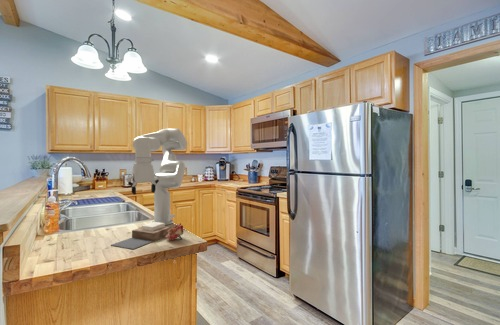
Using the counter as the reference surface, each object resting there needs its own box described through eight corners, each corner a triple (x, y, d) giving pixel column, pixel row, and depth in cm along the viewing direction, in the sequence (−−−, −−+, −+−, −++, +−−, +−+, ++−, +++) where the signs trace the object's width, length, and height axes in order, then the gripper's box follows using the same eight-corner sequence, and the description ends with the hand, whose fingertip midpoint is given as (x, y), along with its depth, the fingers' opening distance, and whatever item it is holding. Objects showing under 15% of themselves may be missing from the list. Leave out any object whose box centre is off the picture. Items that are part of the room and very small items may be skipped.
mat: (131, 238, 130) (131, 237, 130) (152, 241, 125) (152, 241, 125) (110, 245, 119) (110, 244, 119) (133, 249, 114) (133, 248, 114)
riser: (150, 231, 142) (150, 224, 142) (171, 234, 137) (171, 226, 137) (132, 238, 130) (131, 230, 130) (153, 241, 125) (153, 233, 125)
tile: (154, 225, 140) (154, 221, 140) (164, 226, 137) (164, 223, 137) (141, 229, 132) (141, 225, 132) (152, 231, 129) (152, 227, 129)
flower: (187, 232, 134) (178, 220, 134) (189, 233, 126) (179, 221, 125) (171, 245, 130) (162, 233, 130) (173, 247, 122) (162, 234, 121)
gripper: (157, 160, 143) (157, 190, 143) (123, 161, 132) (124, 194, 132) (162, 160, 137) (162, 192, 138) (127, 161, 126) (128, 196, 127)
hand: (143, 193), depth 135 cm, fingers open, 9 cm apart
